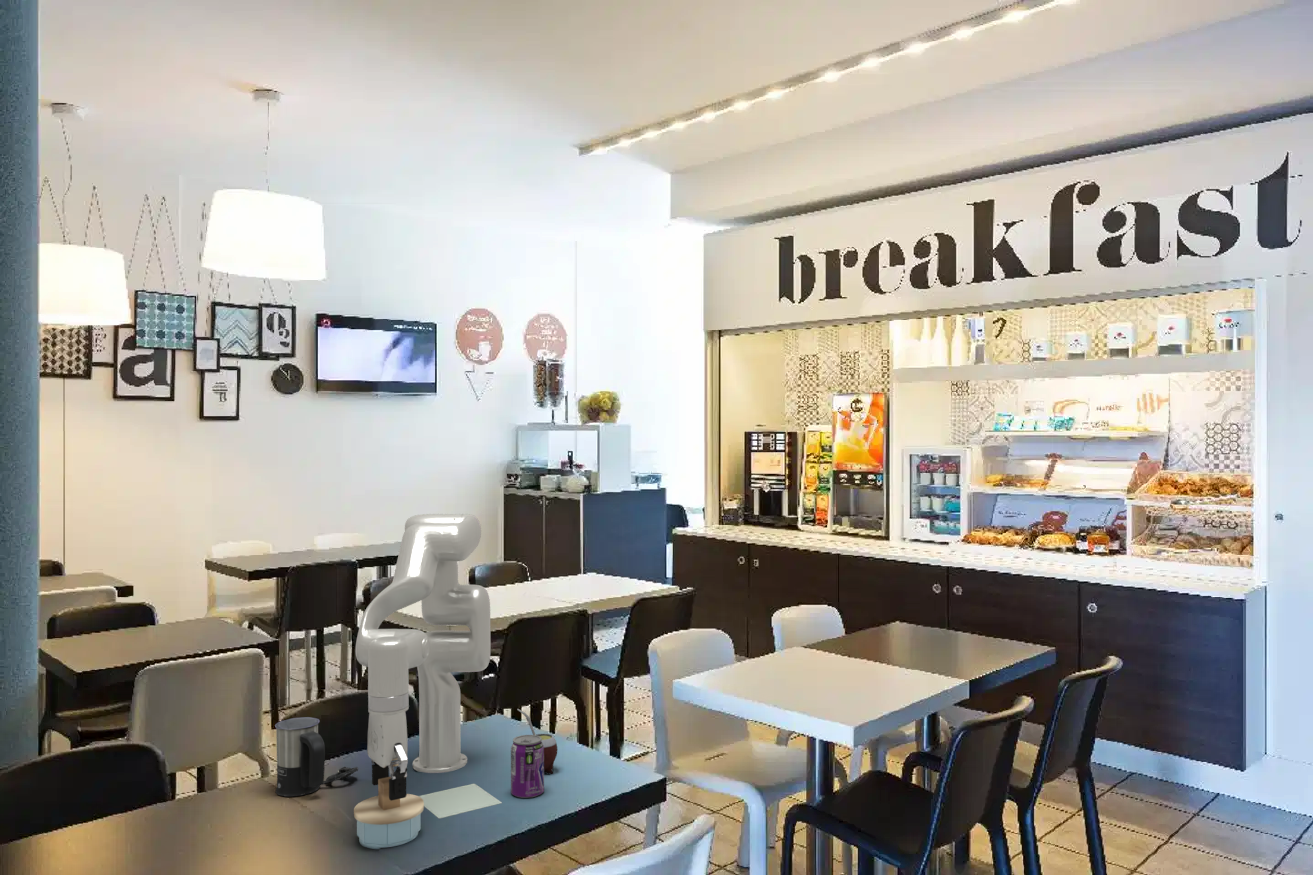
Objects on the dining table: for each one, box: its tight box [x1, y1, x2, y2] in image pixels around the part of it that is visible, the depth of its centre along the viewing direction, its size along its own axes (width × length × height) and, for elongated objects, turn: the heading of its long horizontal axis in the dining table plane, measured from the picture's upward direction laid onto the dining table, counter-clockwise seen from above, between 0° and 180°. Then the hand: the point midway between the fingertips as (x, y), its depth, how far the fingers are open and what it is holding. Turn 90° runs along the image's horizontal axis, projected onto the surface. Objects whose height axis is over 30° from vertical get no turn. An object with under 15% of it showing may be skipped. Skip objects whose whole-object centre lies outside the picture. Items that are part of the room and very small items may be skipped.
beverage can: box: [510, 734, 545, 799], centre depth 204 cm, size 7×7×12 cm
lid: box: [353, 776, 425, 825], centre depth 182 cm, size 13×13×6 cm
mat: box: [417, 783, 503, 820], centre depth 200 cm, size 14×14×1 cm
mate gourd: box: [516, 708, 558, 775], centre depth 218 cm, size 8×8×15 cm
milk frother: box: [274, 716, 359, 798], centre depth 209 cm, size 14×16×15 cm
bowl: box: [356, 812, 422, 850], centre depth 182 cm, size 11×11×5 cm
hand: (388, 790), depth 182 cm, fingers open, 9 cm apart
